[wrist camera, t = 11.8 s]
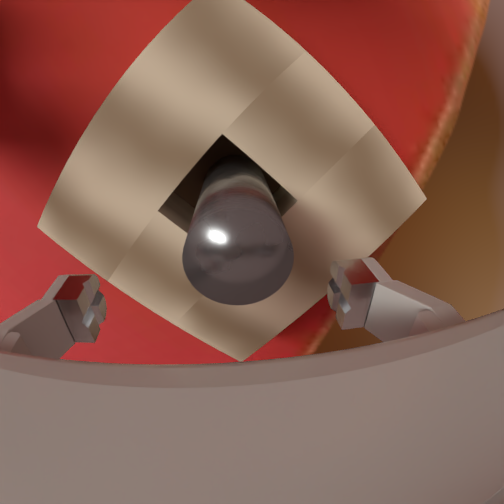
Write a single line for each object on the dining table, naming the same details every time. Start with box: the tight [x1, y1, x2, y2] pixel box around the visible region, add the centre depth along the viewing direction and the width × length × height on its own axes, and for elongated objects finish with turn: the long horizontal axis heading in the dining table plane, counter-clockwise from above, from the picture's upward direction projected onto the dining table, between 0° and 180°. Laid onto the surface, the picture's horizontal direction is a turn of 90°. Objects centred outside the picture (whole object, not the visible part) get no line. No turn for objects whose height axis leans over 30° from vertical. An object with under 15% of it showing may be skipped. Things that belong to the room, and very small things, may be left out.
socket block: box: [37, 0, 426, 362], centre depth 18 cm, size 18×18×5 cm
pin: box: [182, 155, 294, 305], centre depth 15 cm, size 4×4×10 cm
